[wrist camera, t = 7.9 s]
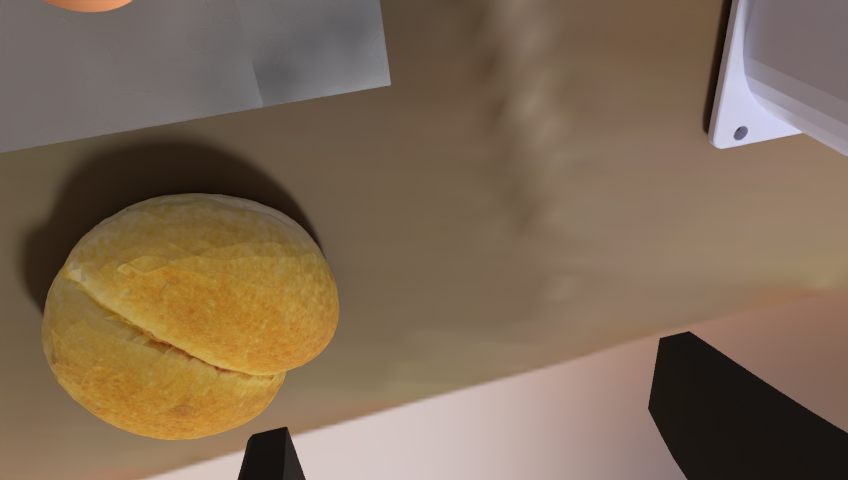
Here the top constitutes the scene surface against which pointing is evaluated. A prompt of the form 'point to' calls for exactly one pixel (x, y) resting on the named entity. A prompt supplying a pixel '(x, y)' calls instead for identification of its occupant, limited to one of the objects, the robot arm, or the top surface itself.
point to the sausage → (88, 4)
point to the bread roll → (187, 314)
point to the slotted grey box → (176, 62)
